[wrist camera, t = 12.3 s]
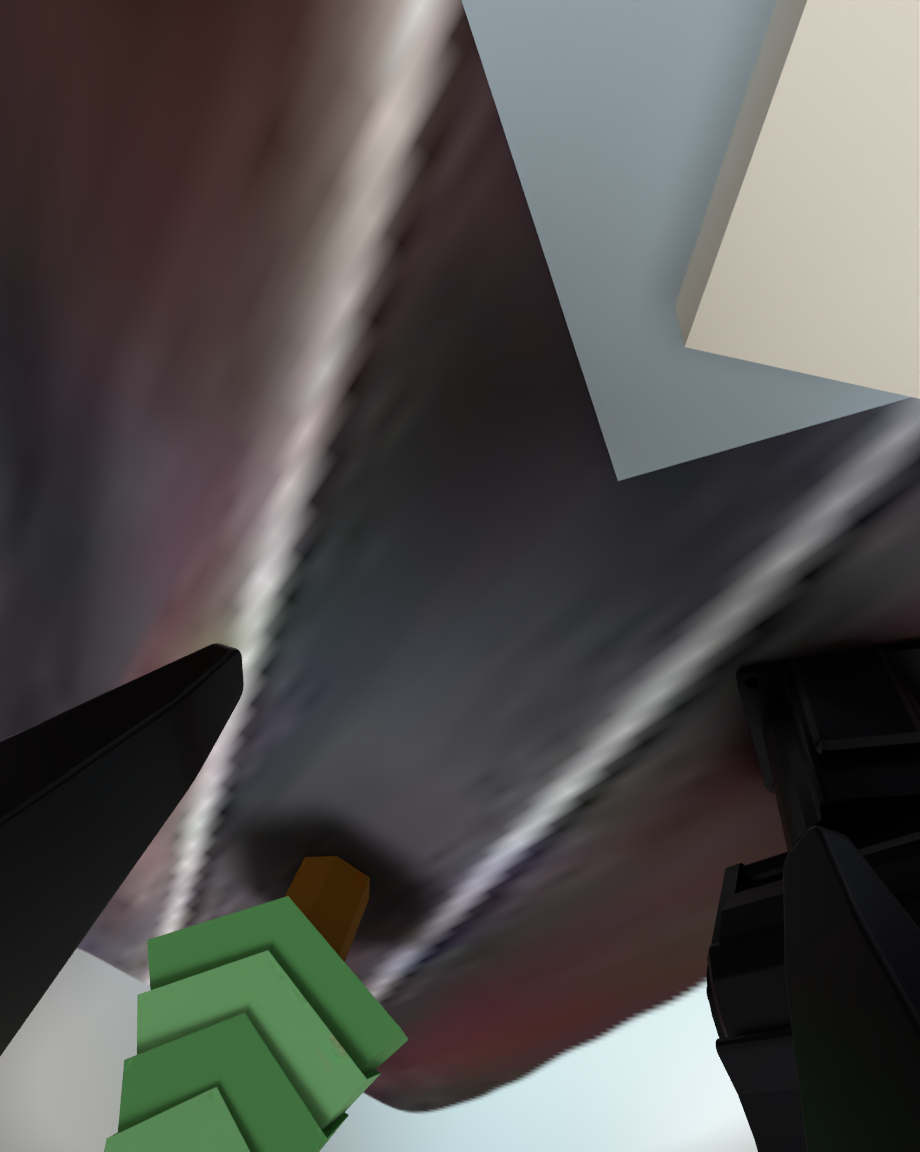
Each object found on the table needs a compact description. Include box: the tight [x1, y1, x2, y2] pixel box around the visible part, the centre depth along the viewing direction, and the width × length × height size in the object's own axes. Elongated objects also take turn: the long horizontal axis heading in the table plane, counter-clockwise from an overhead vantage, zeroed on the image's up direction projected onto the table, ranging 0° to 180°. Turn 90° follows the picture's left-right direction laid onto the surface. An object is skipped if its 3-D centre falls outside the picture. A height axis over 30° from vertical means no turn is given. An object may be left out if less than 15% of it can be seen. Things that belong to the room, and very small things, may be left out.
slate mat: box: [462, 0, 911, 481], centre depth 13 cm, size 16×16×1 cm
